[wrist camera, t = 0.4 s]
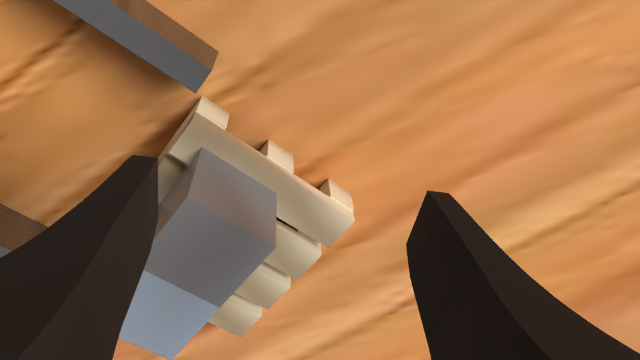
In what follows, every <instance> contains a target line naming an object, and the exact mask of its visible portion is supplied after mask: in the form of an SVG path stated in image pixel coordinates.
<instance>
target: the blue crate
mask: <svg viewBox="0 0 640 360" xmlns="http://www.w3.org/2000/svg"><path fill="white" fill-rule="evenodd" d="M219 309H220V308H219V307H217V306H215V305H213V304H211V303H209V302H207V301H205V300H203V299H201V298H199V297H197V296H195V295H193V294H191V293H189V292H187V291H185V290H183V289H181V288H179V287H177V286H175V285H173V284H171V283H169V282H166V281H164V280H162V279H160V278H158V277H156V276H154V275H152V274H150V273H148V272H146V271H144V270H143V273H142V276H141V278H140V281H139V283H138V286H137V289H136V291H135V294H134V296H133V299H132V302H131V304H130V307H129V309H128V312H127V315H126V317H125V320H124V322H123V325H122V328H121V331H120V334H119V337H118V338H121V339H123V340H125V341H128V342H130V343H132V344H134V345H137V346H139V347H141V348H144V349H146V350H148V351H151V352H153V353H155V354H158V355H160V356H162V357H165V358H167V359H169V360H172V359H173V358H174V357H175V356H176V355H177V354H178V353H179V352H180V351H181V349H182V348H183V347H184V346H185V345H186V344H187V343H188V342H189V341H190V340H191V339H192V338H193V337H194V335H195V334H196V333H197V332H198V331H199V330H200V329H201V328H202V327H203V326H204V325H205V324H206V323H207V322H208V320H209V319H210V318H211V317H212V316H213V315H214V314H215V313H216V312H217V311H218V310H219Z"/></svg>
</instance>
